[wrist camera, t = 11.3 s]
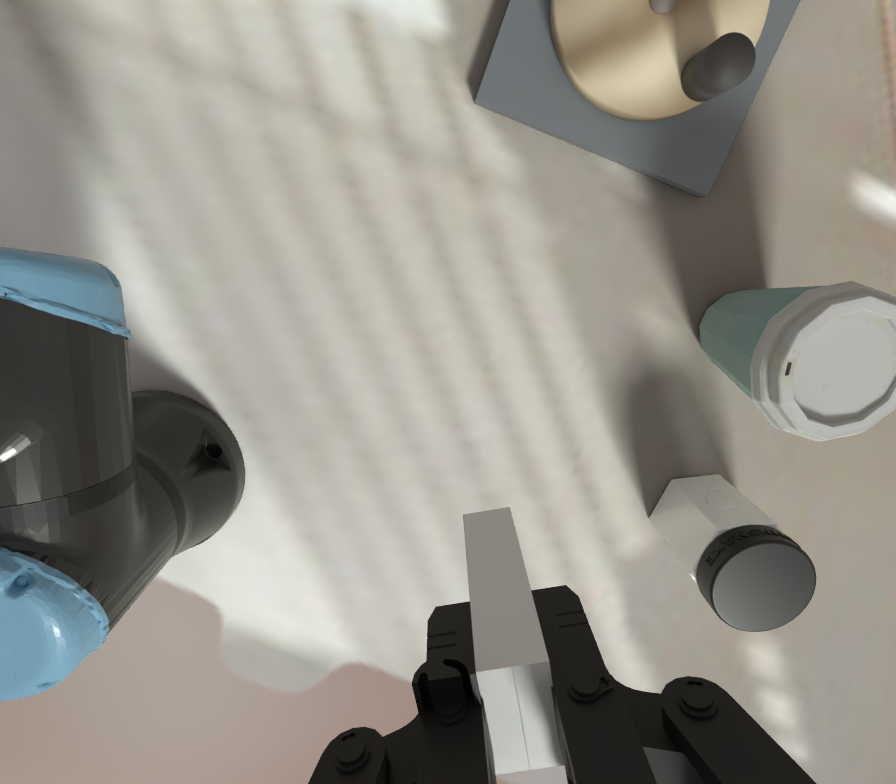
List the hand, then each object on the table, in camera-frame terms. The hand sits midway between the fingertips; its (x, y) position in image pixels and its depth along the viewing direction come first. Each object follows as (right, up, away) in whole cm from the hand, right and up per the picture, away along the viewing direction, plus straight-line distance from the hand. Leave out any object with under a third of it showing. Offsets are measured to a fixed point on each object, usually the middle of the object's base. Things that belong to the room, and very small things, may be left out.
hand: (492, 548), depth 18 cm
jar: (+22, -7, +36) cm, 43 cm away
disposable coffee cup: (+24, +10, +31) cm, 41 cm away
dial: (+13, +34, +23) cm, 42 cm away
